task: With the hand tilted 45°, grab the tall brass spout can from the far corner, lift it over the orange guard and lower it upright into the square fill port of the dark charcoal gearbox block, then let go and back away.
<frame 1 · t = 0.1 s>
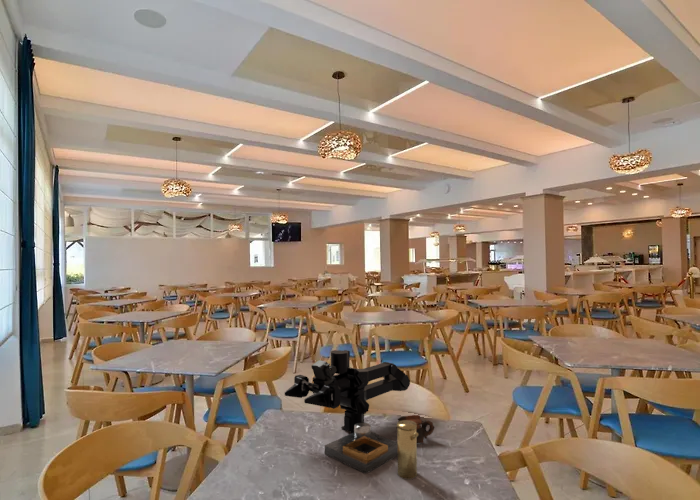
hand: (294, 397, 119), 17 cm above the table, tool horizontal, fingers open, 9 cm apart
pottery mug: (415, 439, 129), on the table
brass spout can: (407, 473, 107), on the table
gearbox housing: (363, 453, 119), on the table
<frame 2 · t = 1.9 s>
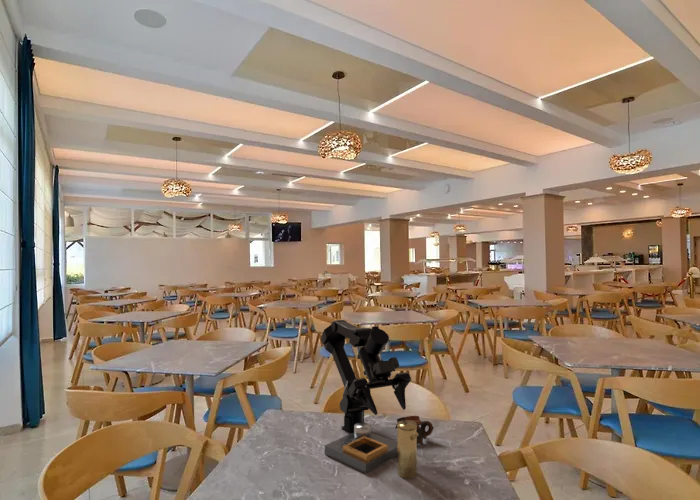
hand: (390, 411, 115), 14 cm above the table, tool tilted 45°, fingers open, 9 cm apart
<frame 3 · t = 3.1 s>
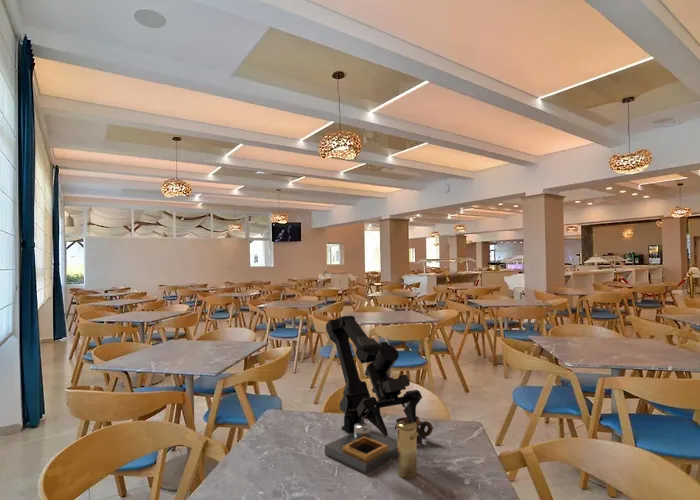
hand: (401, 432, 110), 10 cm above the table, tool tilted 45°, fingers open, 9 cm apart
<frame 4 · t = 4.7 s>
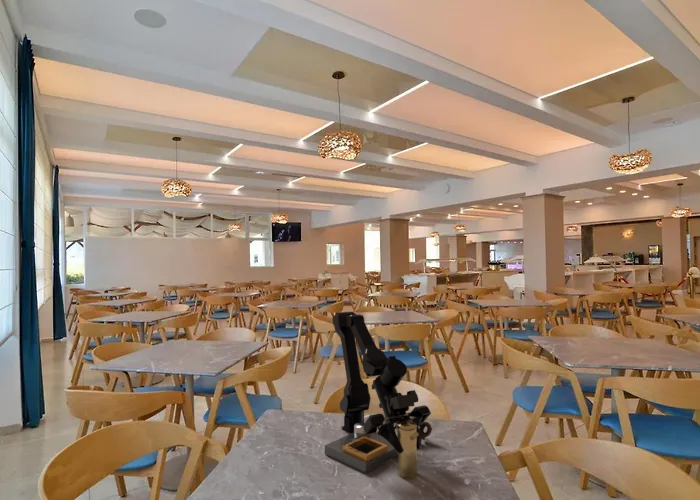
hand: (410, 450, 106), 7 cm above the table, tool tilted 45°, fingers closed on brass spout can, 5 cm apart
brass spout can: (407, 473, 107), on the table, touching gripper
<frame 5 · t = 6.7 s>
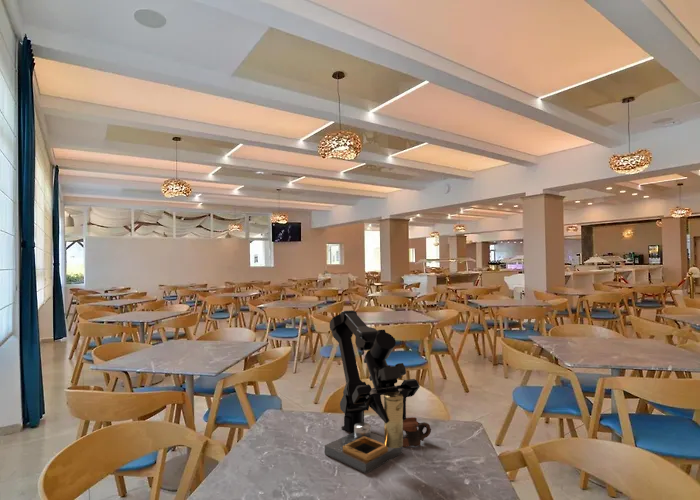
hand: (395, 421, 108), 14 cm above the table, tool tilted 45°, fingers closed on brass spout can, 5 cm apart
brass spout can: (393, 443, 110), point 7 cm above the table, touching gripper
when the fingers open (8 cm above the table, at t = 8.9 s): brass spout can drops 2 cm, resting in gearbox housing.
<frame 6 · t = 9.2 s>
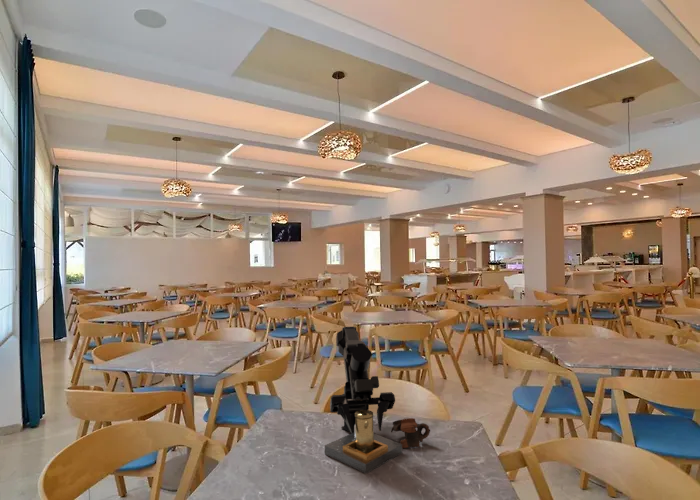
hand: (366, 431, 114), 9 cm above the table, tool tilted 45°, fingers open, 8 cm apart
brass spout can: (365, 459, 115), resting in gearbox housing
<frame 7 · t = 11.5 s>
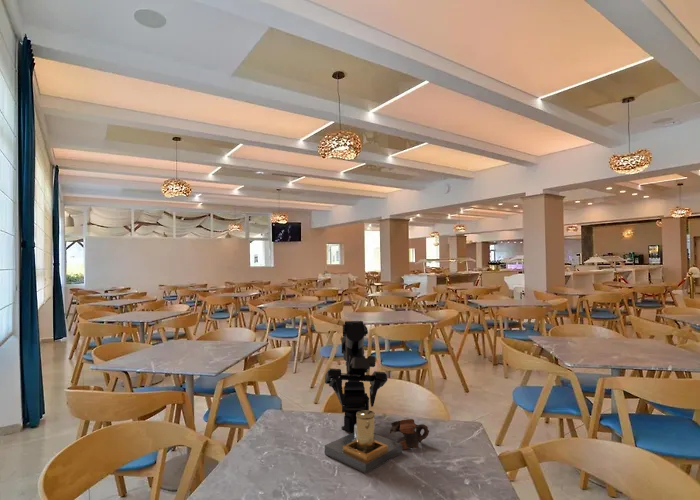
hand: (357, 405, 121), 13 cm above the table, tool tilted 40°, fingers open, 9 cm apart
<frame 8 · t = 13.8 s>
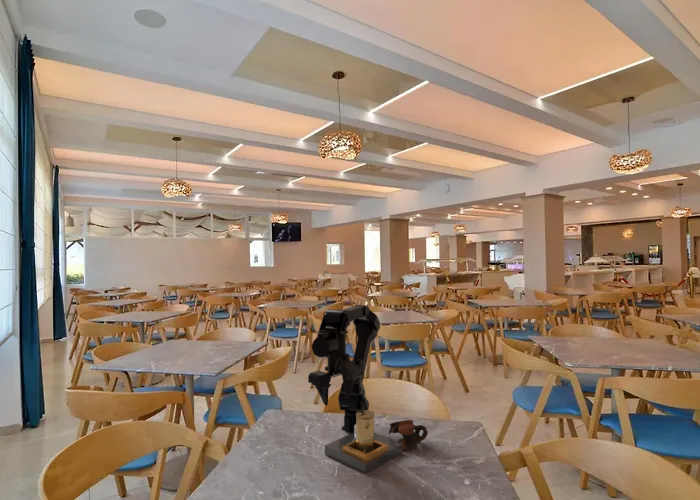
hand: (336, 401, 125), 13 cm above the table, tool pointing down, fingers open, 9 cm apart
at the end: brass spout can 0.1 cm from the target spot on the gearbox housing, point 0.0 cm above the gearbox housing's base; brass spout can tilted 0°; the gripper is holding nothing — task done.
